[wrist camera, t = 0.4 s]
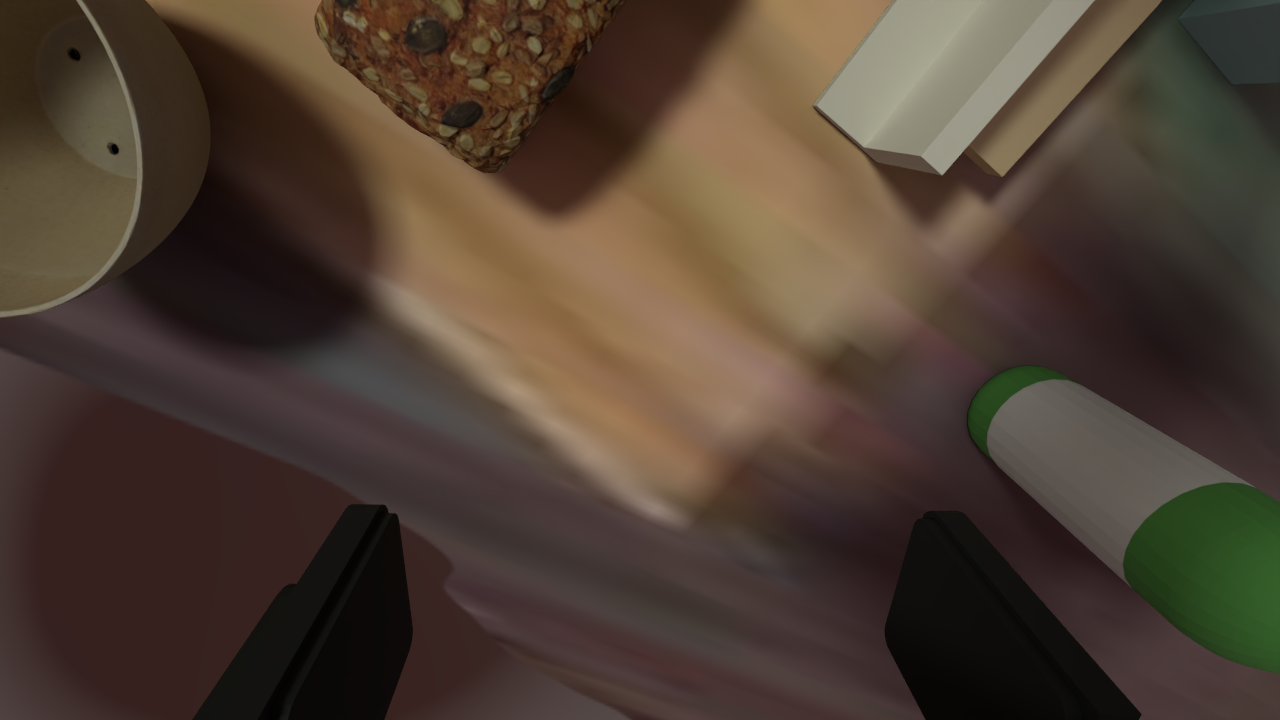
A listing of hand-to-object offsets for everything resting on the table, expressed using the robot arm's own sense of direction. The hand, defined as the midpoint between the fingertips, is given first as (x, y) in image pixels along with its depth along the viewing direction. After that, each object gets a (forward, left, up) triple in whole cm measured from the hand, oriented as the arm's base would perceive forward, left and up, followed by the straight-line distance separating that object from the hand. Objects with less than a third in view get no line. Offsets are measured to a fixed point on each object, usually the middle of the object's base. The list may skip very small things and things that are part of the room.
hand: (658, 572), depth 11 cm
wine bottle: (+10, +31, -31) cm, 44 cm away
